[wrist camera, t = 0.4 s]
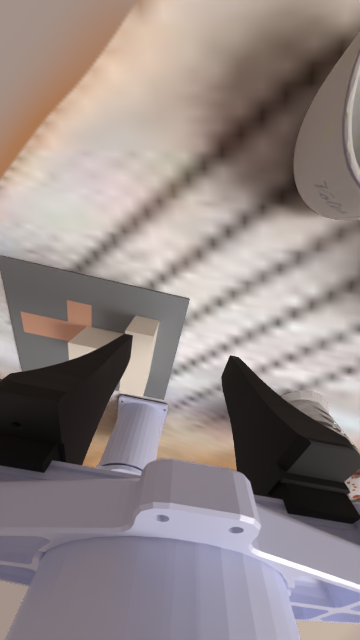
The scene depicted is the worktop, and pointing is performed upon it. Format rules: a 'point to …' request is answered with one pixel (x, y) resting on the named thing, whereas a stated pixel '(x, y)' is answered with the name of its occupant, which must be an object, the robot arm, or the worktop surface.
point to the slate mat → (85, 315)
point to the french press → (318, 411)
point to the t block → (140, 352)
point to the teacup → (332, 143)
